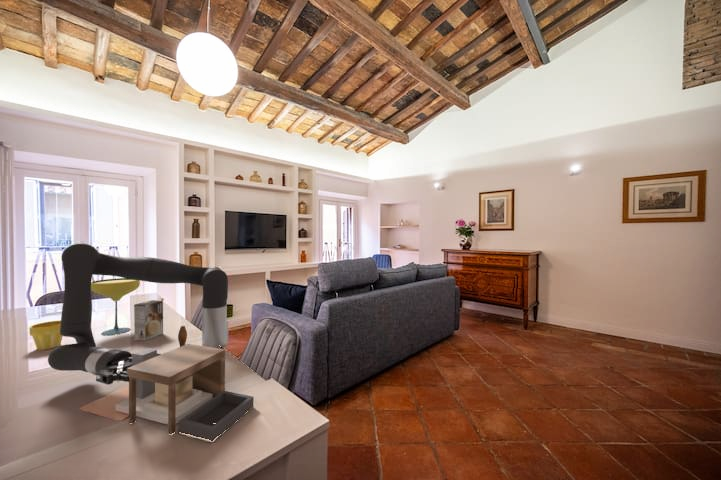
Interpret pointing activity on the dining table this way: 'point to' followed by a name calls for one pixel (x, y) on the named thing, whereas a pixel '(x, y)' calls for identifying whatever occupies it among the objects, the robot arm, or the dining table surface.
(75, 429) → the dining table surface
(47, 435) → the dining table surface
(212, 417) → the pit trap
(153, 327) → the coffee box
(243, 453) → the dining table surface
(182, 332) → the hand bell
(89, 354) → the robot arm
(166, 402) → the birch block
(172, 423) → the small wooden table
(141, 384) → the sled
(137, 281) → the cocktail glass
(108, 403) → the pad
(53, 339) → the plant pot
